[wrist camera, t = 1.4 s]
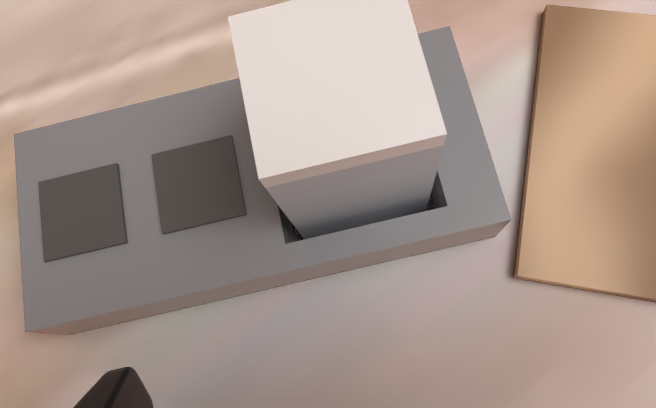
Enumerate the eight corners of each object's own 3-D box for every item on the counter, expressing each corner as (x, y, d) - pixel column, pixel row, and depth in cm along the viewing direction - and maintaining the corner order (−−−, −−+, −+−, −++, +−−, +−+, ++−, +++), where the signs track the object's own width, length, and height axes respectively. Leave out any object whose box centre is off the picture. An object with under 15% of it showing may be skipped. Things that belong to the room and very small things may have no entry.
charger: (395, 108, 24) (399, -27, 15) (424, 216, 23) (447, 134, 14) (284, 135, 24) (228, 16, 16) (307, 243, 23) (258, 179, 14)
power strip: (442, 64, 24) (450, 23, 21) (495, 236, 22) (512, 218, 19) (56, 159, 25) (10, 132, 22) (71, 334, 23) (21, 332, 20)
